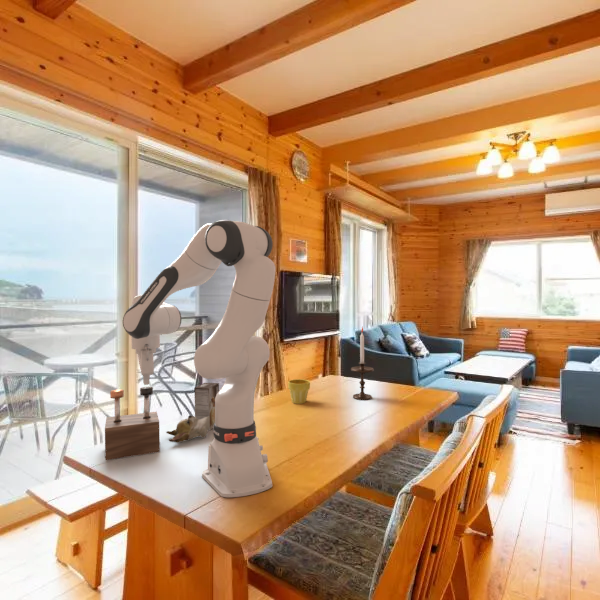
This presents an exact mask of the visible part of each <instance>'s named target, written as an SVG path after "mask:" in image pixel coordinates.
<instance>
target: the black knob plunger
mask: <svg viewBox="0 0 600 600" xmlns="http://www.w3.org/2000/svg"><path fill="white" fill-rule="evenodd" d="M153 394H154V387H153V386H142V387H140V388H139V395H140V396H143V410H144V411H143V413H144V419H149V412H150V396H151V395H153Z"/></svg>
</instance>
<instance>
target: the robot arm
mask: <svg viewBox="0 0 600 600" xmlns="http://www.w3.org/2000/svg"><path fill="white" fill-rule="evenodd" d="M273 243H274V242H273V238H272V236H271V234H270V233H269V232H268V231H267V230H266V229H265V228H263V227H262V226H258V225H253V224H250V223H247V222H244V221H236V220H230V219H220V220H217V221H214V222H213V223H206V224H204V225H203V226H201V227H200V228H199V230H197V232H196V233H195V234H194V235H193V237H192V238H191V239H190V241H189V242H188V244H187V245H186V246H185V248H184V249H183V251H182V253H181V254H180V255H179V256H178V257H177V258H176V259H175V260H174V261H173V262H172V263H171V264H170V265H168V266H166V268H164V269H163V270H161V271H160V273H159V274H157V276H156V277H155V278H154V280H153V281H152V282H151V284H150V285H149V286H148V288H146V290H145V291H144V292H143V294H139V295H136V296H135V297H133V300H132V304H131V305H130V307H128V309H127V310H126V311H125V312H124V315H123V317H122V327H123V329H124V331H125V332H126V333H127V334H128V335H129V336H130V337H131V349H132V350H135V354H136V355H137V357H138V364H139V367H140V369H139V370H140V374H141V376H142V379H143V380H142V382H143V385H144V386H147V385H150V378H151V377H150V376H153V375H154V374H155V373H154V372H155V370H154V369H155V365H154V354H155V353H157V349H159V348H160V347H161V346H160V345H161V343H160V342H161V341H160V340H161V339H160V338H161V336H162V335H168V334H172V333H176V332H177V331H178V330H179V329H180V327H181V324H182V313H181V311H180V309H179V308H178V307H177V306H175V305H174V304H173V305H172V304H169V303H167V302H166V300H167V299H168V298H169V297H170V296H171V295H173V294H175V293H176V292H179V291H182V290H186V289H188V288H189V289H190V288H193V287H198V286H201V285H203V284H205V283H207V282H208V281H209V280H210V279H211V278H212V277H213V276H214V274H215V273H216V271H217V270H218V269H219V267H220V265H221V264H224V265H225V266H226V267H232V266H234V270H235V278H234V281H233V284H232V287H231V291H230V295H229V298H228V300H227V301H228V302H227V305H226V308H225V312H224V314H223V316H222V318H221V320H220V321H219V323H218V325H217V326H216V328H215V330H214V331H213V332H212V334H211V335H210V336H209V337H208V338H207V340H205V341H204V342H203V343H202V344H200V345H199V346H197V348H196V350H195V352H194V356H193V364H194V367H195V370H196V372H197V373H198V374H199V376H201V377H202V378H203V379H207V380H223V379H225V380H224V383H223V385H222V387H221V388H219V392H218V393H217V395H216V398H215V423H214V428H212V430H213V440H212V441H211V443H209V445H208V449H207V450H208V451H207V452H208V453H207V469H205V470H204V471H202V473H201V477H202V479H204V480H205V481H206V482H207V483H208V484H209V486H210V487H211V488H212V489H213V490H214V491H215V492H216V493H218V495H219V496H221V497H223V498H240V497H247V496H250V495H255V494H259V493H262V492H265V491H267V490H269V489H271V488H273V481H272V477H271V474H270V471H269V467H268V461H269V460H268V458H269V457H268V454H267V453H263V454H262V451H264V447H263V445H260V442H259V437H258V436H257V426H256V421H255V417H254V416H255V415H254V408H255V392H256V388H257V384H258V381H259V377H260V374H261V373H262V369H263V368H264V366H265V365H266V364H267V362H268V361H269V360H270V359H269V358H270V353H271V352H270V348H269V344H268V342H267V341H266V340H265V339H264V338H263V337H260V336H256V335H254V334H255V333H256V332H257V331H258V330H260V328H261V327H262V326H263V325H264V323H265V319H266V315H267V312H268V309H269V306H270V302H271V299H272V295H273V291H274V287H275V286H274V285H275V280H276V269H277V268H276V264H275V263H274V261H273V260H272V259H271V258H269V256H270V254H271V253H272V252H273V251H272V250H273V247H274V246H273V245H274V244H273Z"/></svg>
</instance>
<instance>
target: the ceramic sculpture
mask: <svg viewBox="0 0 600 600" xmlns="http://www.w3.org/2000/svg"><path fill="white" fill-rule="evenodd" d="M209 424H210V416H208V417H205V418H203V419H200V420H199V419H197V418H196V417H195V415H188V416H187V418H185V419H181V420H180V421H179V422H178V423H177V424H176V429H173V430H171V431H165V433H166V434H168V435H169V436H173V437H171V438H170V439H169V440H168V441H169V442H170V443H171V442H172V443H183V442H185V441H190V440H193V439H194V438H197V437H201V438H202V439H205V438H206V436H207V435H208V431H209V430H208V429H209Z"/></svg>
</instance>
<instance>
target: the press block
mask: <svg viewBox="0 0 600 600" xmlns="http://www.w3.org/2000/svg"><path fill="white" fill-rule="evenodd" d="M160 443H161V442H160V419H159V415H158V412H157V411H149V419H144V412H142V413H133V414H126V415H125V414H124V415H120V422H116V423H115V415H114V416H109V417H108V416H107V417H106V419H105V424H104V458H105V459H104V461H109V460H117V459H123V458H128V457H134V456H135V457H136V456H141V455H142V456H143V455H150V454H154V453H155V454H156V453H160V452H161V450H160V448H161V447H160V445H161V444H160Z"/></svg>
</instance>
